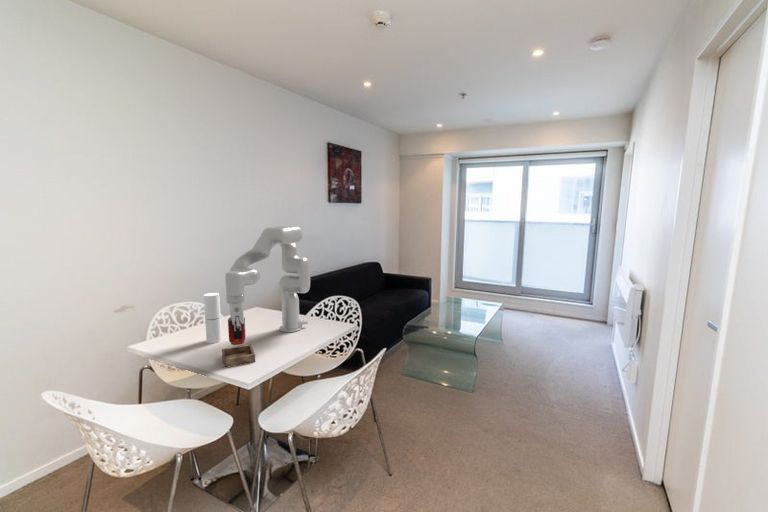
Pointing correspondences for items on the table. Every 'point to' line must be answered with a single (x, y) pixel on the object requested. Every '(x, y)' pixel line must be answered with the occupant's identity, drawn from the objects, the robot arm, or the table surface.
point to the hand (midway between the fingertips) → (237, 335)
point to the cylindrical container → (212, 317)
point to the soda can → (231, 333)
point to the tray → (238, 355)
